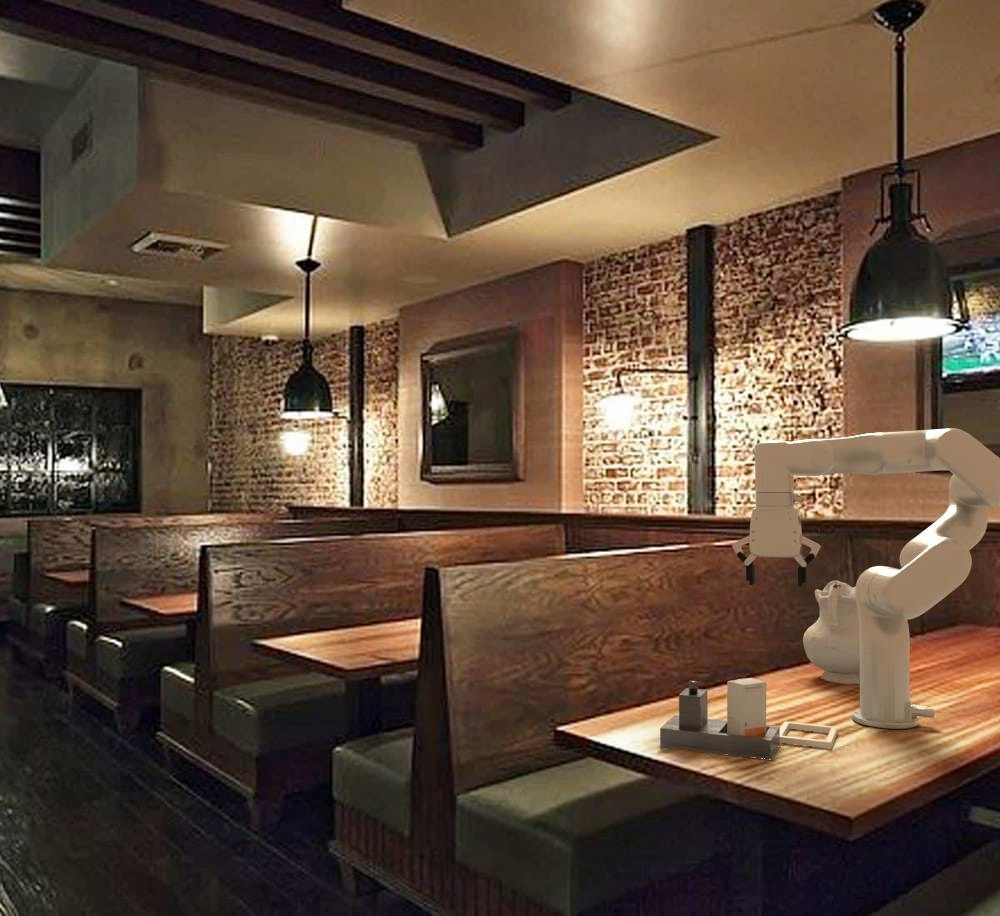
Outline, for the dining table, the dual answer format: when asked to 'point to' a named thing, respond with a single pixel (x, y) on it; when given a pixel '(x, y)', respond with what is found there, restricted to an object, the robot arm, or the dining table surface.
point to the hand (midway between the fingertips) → (776, 585)
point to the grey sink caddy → (712, 730)
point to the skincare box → (746, 707)
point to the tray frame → (806, 741)
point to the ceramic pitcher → (835, 635)
